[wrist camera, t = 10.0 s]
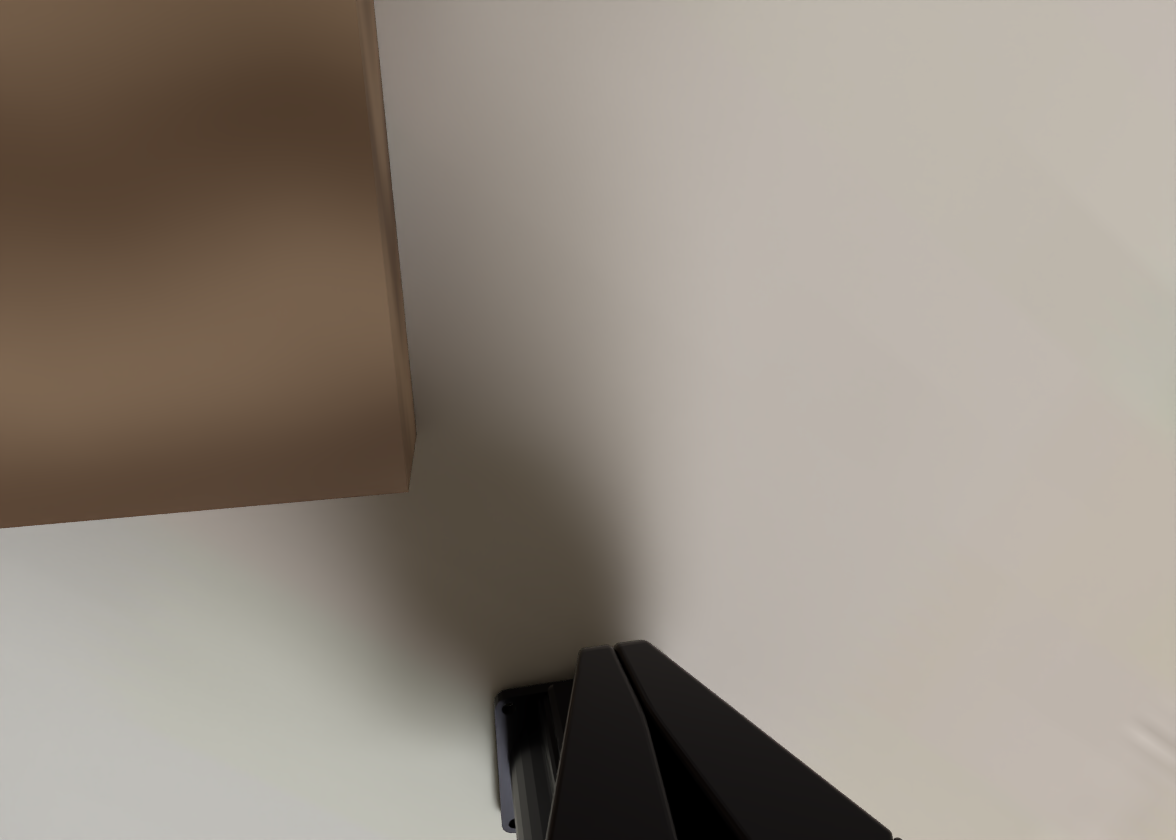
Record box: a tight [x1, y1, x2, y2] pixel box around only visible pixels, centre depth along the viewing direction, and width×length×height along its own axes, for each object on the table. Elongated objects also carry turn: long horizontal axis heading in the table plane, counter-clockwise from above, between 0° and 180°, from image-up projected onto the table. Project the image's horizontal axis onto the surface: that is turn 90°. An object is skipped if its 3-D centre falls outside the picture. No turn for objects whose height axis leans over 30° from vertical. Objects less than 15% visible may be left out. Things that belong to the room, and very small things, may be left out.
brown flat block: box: [0, 0, 417, 528], centre depth 13 cm, size 14×12×4 cm
